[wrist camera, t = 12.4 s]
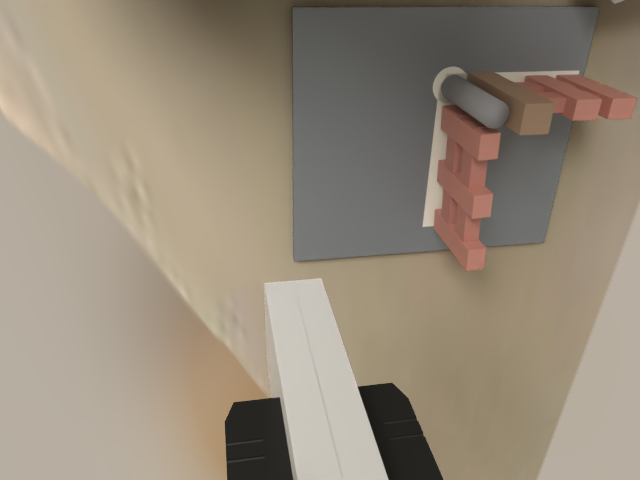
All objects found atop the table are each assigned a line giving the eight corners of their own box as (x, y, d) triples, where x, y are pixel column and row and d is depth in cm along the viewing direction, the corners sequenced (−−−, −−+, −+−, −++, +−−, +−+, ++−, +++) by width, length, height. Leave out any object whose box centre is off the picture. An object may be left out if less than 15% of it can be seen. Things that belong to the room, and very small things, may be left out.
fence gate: (441, 75, 42) (484, 102, 36) (464, 73, 42) (510, 99, 36) (431, 229, 49) (465, 275, 42) (451, 227, 49) (488, 272, 42)
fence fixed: (463, 98, 44) (519, 135, 36) (467, 71, 43) (525, 104, 35) (569, 94, 45) (645, 129, 38) (575, 69, 44) (654, 99, 37)
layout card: (292, 6, 39) (293, 8, 38) (595, 6, 43) (600, 7, 42) (293, 257, 49) (294, 261, 48) (540, 239, 52) (544, 242, 52)
